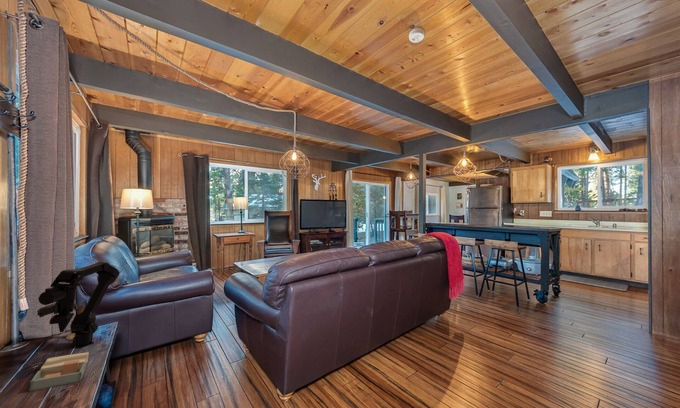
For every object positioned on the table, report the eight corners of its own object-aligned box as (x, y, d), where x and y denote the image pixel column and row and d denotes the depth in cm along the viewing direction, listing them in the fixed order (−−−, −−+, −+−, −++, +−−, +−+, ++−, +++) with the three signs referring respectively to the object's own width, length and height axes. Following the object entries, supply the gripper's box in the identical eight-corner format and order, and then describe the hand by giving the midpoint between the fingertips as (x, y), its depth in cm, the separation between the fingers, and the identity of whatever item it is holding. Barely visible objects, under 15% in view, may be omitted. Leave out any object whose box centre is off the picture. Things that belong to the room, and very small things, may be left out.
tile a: (64, 362, 110) (63, 365, 108) (79, 360, 112) (78, 362, 111) (62, 373, 109) (61, 376, 108) (77, 371, 112) (76, 373, 110)
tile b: (41, 381, 101) (40, 386, 101) (58, 378, 104) (57, 383, 103) (45, 375, 105) (44, 380, 104) (61, 372, 107) (60, 377, 107)
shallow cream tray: (46, 367, 113) (48, 358, 113) (87, 361, 120) (88, 352, 121) (38, 379, 106) (40, 368, 106) (83, 371, 113) (84, 361, 113)
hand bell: (76, 332, 145) (81, 303, 146) (91, 333, 145) (96, 304, 146) (60, 339, 137) (65, 307, 138) (76, 340, 137) (81, 309, 138)
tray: (36, 380, 105) (38, 370, 105) (84, 371, 113) (85, 362, 113) (28, 391, 98) (30, 381, 99) (80, 381, 106) (81, 372, 107)
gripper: (47, 293, 125) (42, 327, 124) (34, 306, 110) (28, 344, 109) (79, 291, 131) (75, 323, 130) (72, 303, 116) (66, 339, 116)
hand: (61, 331), depth 121 cm, fingers closed
